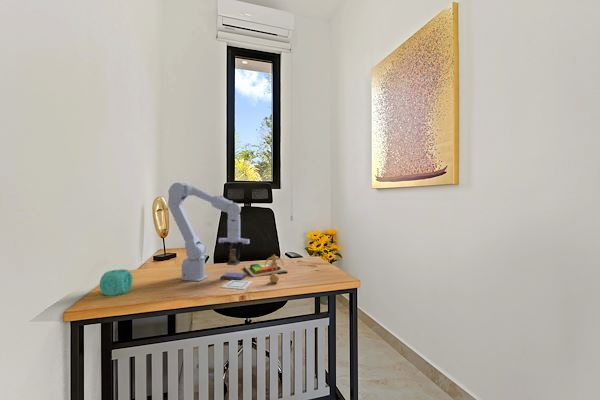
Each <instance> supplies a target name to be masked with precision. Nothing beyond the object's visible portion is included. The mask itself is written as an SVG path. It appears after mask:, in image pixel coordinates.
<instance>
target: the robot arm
mask: <svg viewBox="0 0 600 400" xmlns="http://www.w3.org/2000/svg"><path fill="white" fill-rule="evenodd" d="M167 192H168V202H167V207H168V209H169V212H170V213H171V215H172V217H173V219H174V221H175V223H176V225H177V227H178V231H180V233H181V235H182V237H183V240H184V242H185V243H184V244H185V245H184V247H185V250H186V254H185V255H186V257H187V258H184V259H183V261H182V263H181V278H180V280H182V281H193V282H200V281H203V280H204V279H206V278H208V277H209V274H206V269H205V268H206V267H205V266H206V265H205V264H206V257H205V255H204V254H205V253H206V251H207V249H206V246H205V244H204V243H203V242H202V241H201V239H200V238H199V237H198V236H197V234H196V233H195V230H194V228H193V226H192V224H191V222H190V220H189V217H188V215H187V214H186V211H185V209H184V208H183V203H184V201H185V199H186V198H187V197H188V196H195V197H196V198H199V199H201V200H204V201H206V202H209V203H210V204H211V206H212V207H213V208H215V209H217V210H219V211H222V212H223V213H227V237H219V238H218V243H219V244H220V243H222V247H223V248H224V250H225V252H226V255H227V259H228V260H230V250H231V249H233V244H234V246H235V249H236V259H237V261H239V260H240V258H241V253H242V251H243V248H244V247H245V245H249V244H251V243H250V239H249V238H243V237H241V214H240V213H241V210H242V207H241V206H240V205H239V204H238V203H237V202H234V201H233V200H229V199H227V198H225V197H224V195H222V194H220V195H219V194H217V195H212V194H211V193H208V192H207V191H204V190H202V189H200V188H198V187H196V186H194V185H192V184H191V185H190V184H188V183H183V182H174V183H173V184H171V186H170V188H169V189H168V191H167ZM223 243H224V244H223Z"/></svg>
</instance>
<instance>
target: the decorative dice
mask: <svg viewBox="0 0 600 400" xmlns="http://www.w3.org/2000/svg"><path fill="white" fill-rule="evenodd" d="M132 285H133V274H132V272H131V271H130V270H129V269H121V268H120V269H113V270H109V271H105V272H104V273H103V274H102V276H101V277H100V281H99V290H100V292H101V293H102V294H104V295H105V296H107V295H109V296H108V297H112V296H111V295H115V296H119V295H123V293H124V294H126V293H128V292H129V290H130V289H131V287H132Z"/></svg>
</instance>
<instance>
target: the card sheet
mask: <svg viewBox="0 0 600 400" xmlns="http://www.w3.org/2000/svg"><path fill="white" fill-rule="evenodd" d="M253 282H254V281H252V280H241V281H240V280H230V281H228V282H227V283H225V284H224V285H222V286H221V288H223V289H235V290H246V289H247V287H249V286H250V285H251V284H253Z"/></svg>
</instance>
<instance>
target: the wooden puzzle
mask: <svg viewBox="0 0 600 400" xmlns="http://www.w3.org/2000/svg"><path fill="white" fill-rule="evenodd" d="M265 263H266V261H265V262H261V263H260V262H259V263H253V264H250V266H246V265H243V268H244V270H246V271H247V272H248V273H249V275H250V277H252V278H257V277H263V276H265V277H266V276H271V275H272V267H271V263H273V262H272V260H271V261H267V263H266V266H265ZM275 269H276V267H275V265H274V267H273V273H274V274H275ZM276 273H277V274H279V273H286V274H288V273H289V271H288V270H287V269H286V268H284V267H283V266H282V265H280V264H279V263H277V270H276Z"/></svg>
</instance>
